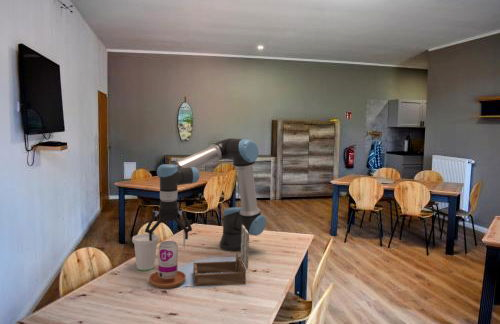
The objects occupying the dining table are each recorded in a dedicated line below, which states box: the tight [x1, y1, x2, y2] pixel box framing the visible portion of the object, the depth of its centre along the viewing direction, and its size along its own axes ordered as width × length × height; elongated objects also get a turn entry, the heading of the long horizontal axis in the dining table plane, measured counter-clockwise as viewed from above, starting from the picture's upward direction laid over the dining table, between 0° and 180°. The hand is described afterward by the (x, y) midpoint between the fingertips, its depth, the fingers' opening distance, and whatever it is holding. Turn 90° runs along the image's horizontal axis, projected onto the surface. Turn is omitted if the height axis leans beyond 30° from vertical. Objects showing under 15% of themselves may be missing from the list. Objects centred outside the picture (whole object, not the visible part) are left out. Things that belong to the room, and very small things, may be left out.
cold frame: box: [192, 225, 250, 287], centre depth 172 cm, size 15×23×23 cm, turn 101°
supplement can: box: [157, 240, 179, 279], centre depth 167 cm, size 8×8×15 cm
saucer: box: [148, 269, 187, 289], centre depth 167 cm, size 16×16×3 cm
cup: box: [131, 233, 160, 272], centre depth 182 cm, size 12×12×15 cm
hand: (168, 247), depth 166 cm, fingers open, 13 cm apart
